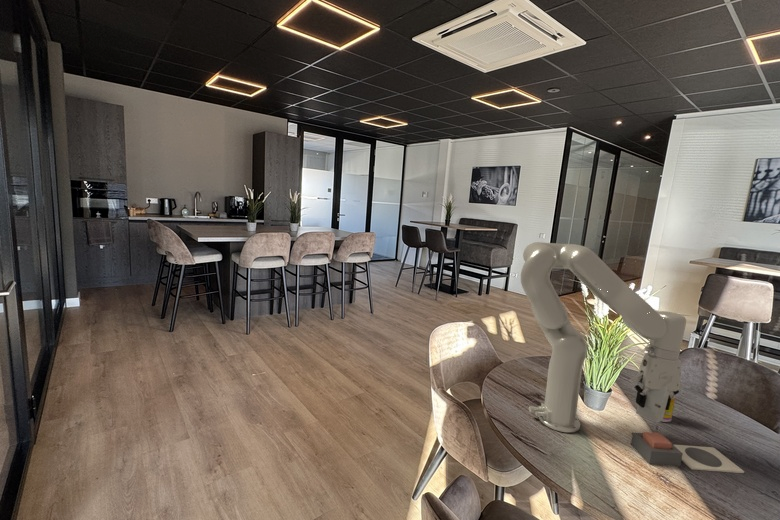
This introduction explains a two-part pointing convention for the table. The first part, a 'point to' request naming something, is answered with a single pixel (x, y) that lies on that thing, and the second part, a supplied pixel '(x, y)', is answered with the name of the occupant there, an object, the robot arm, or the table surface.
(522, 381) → the table surface
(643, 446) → the button housing
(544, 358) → the table surface
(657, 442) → the button
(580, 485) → the table surface
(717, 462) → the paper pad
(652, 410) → the skincare box
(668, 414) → the supplement bottle
